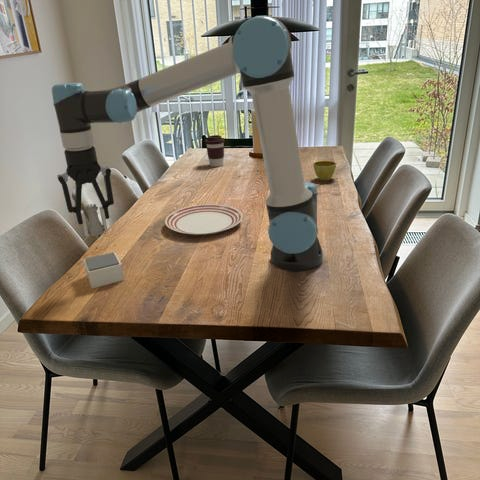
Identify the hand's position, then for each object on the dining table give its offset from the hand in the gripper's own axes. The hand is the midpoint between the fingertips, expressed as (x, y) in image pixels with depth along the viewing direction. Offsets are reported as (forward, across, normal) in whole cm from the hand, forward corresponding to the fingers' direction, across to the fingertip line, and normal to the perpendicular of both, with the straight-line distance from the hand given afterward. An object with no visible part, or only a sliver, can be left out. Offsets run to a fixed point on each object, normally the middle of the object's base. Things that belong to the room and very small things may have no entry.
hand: (96, 232), depth 126 cm
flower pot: (+14, -105, -43) cm, 115 cm away
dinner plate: (+15, -39, -22) cm, 47 cm away
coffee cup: (+14, -75, -97) cm, 123 cm away
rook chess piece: (0, 0, 0) cm, 0 cm away
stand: (+14, 0, 0) cm, 14 cm away
